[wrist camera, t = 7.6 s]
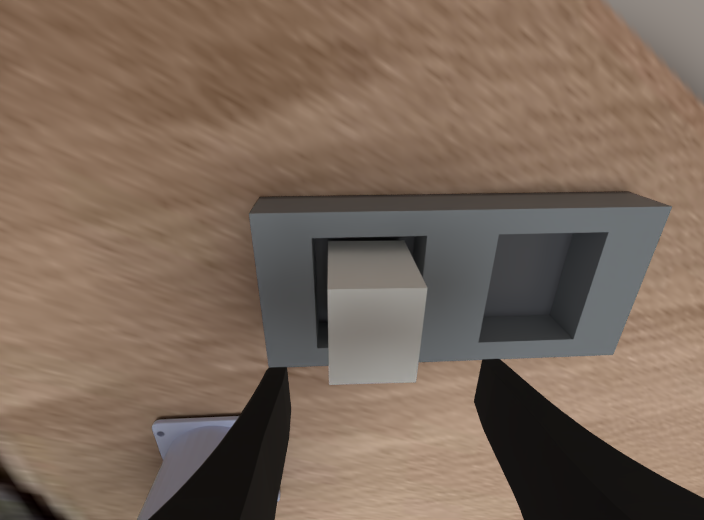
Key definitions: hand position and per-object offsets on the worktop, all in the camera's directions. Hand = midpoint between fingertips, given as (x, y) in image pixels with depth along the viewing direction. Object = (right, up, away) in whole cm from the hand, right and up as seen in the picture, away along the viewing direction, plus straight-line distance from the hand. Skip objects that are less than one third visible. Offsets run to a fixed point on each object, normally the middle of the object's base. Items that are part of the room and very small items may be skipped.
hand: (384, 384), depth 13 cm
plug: (-1, +4, +8) cm, 9 cm away
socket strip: (+4, +4, +8) cm, 10 cm away
